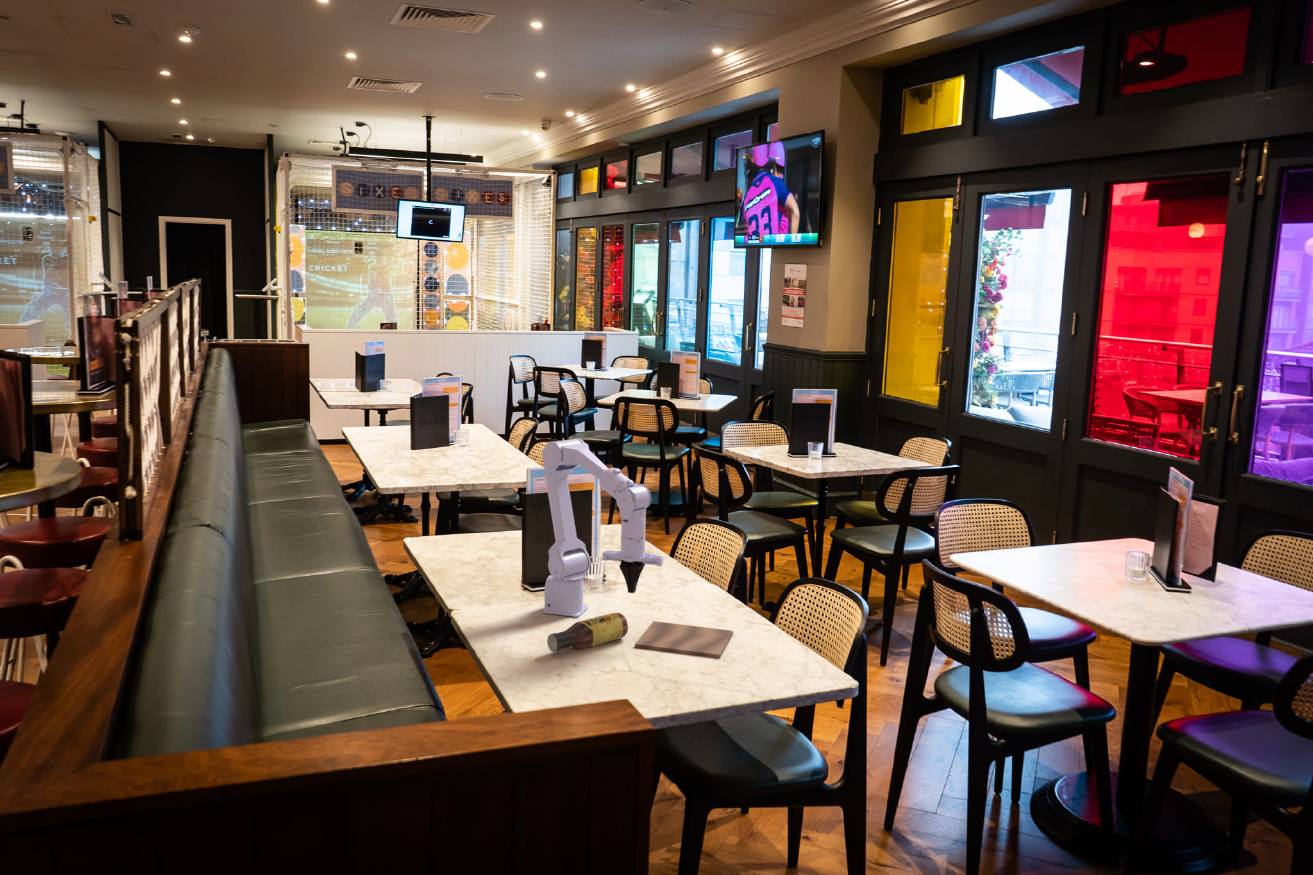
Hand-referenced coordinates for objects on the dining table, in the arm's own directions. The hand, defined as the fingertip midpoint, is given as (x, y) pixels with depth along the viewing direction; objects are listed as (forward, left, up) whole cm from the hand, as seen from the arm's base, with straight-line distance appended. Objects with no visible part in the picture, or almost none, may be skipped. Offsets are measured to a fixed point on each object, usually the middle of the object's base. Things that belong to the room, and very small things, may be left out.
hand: (631, 591), depth 223 cm
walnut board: (+13, 0, -10) cm, 17 cm away
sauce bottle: (-2, -2, -8) cm, 8 cm away
